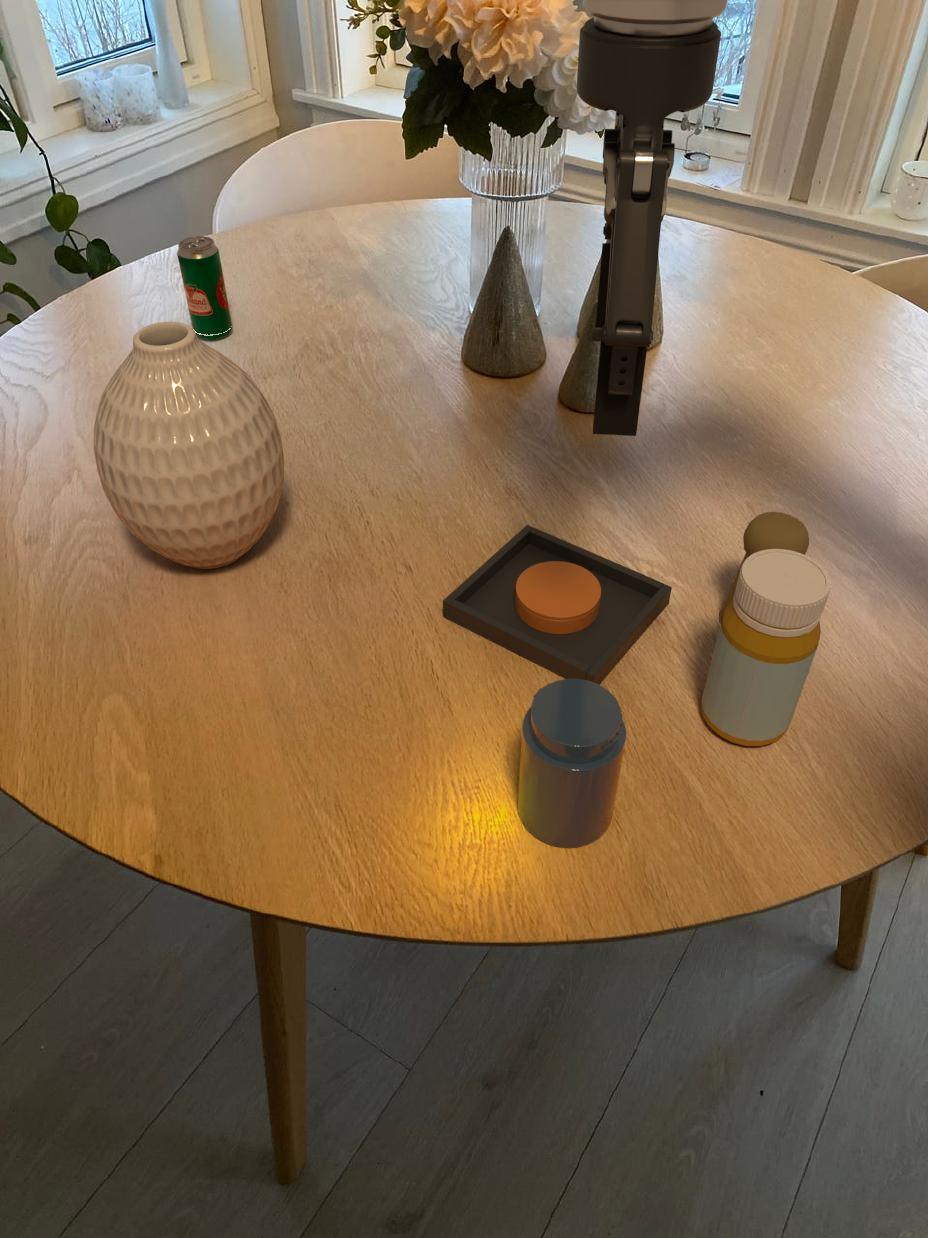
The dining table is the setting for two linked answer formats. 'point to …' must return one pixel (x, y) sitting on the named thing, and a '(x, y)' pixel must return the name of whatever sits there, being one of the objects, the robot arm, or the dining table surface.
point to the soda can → (204, 287)
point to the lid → (557, 597)
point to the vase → (188, 449)
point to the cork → (770, 540)
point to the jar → (570, 762)
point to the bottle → (765, 647)
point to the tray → (572, 656)
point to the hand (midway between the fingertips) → (613, 379)
